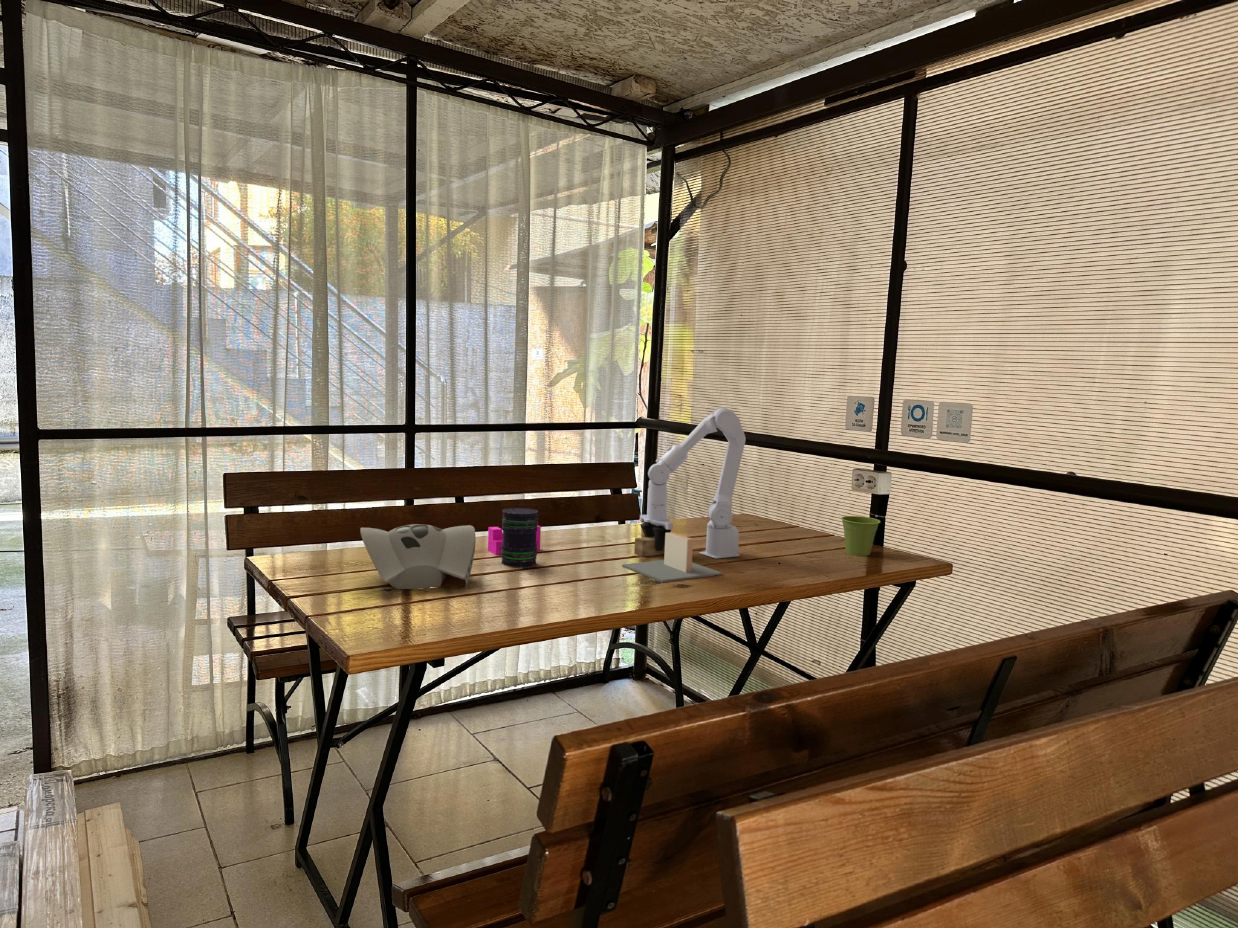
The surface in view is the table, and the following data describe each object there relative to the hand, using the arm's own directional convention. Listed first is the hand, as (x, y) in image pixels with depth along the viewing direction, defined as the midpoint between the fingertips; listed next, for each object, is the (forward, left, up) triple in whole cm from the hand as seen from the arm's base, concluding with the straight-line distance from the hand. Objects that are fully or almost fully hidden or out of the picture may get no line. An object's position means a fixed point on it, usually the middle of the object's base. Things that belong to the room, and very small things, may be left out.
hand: (654, 549), depth 257 cm
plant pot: (-59, +26, -2) cm, 64 cm away
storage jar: (+43, -4, -2) cm, 43 cm away
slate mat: (+8, +20, -1) cm, 21 cm away
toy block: (+37, -18, -2) cm, 41 cm away
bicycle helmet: (+74, +2, -3) cm, 74 cm away
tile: (+6, +20, -1) cm, 20 cm away
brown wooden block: (0, 0, -2) cm, 2 cm away
